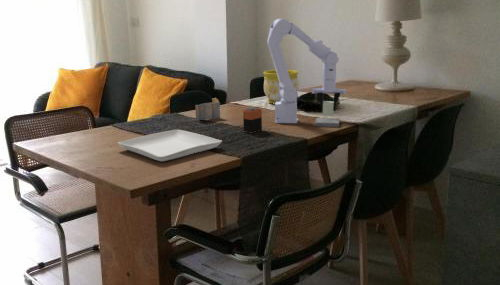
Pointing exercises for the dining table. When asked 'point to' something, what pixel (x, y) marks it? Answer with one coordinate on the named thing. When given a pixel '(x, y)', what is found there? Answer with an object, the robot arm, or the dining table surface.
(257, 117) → the battery
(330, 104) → the block
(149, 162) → the dining table surface
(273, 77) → the flowerpot
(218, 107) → the ruin model on sheet
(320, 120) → the trivet
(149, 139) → the square plate
